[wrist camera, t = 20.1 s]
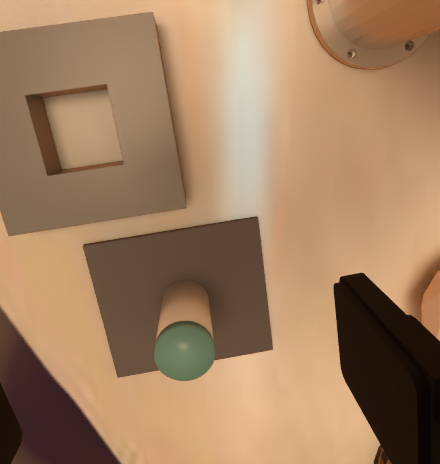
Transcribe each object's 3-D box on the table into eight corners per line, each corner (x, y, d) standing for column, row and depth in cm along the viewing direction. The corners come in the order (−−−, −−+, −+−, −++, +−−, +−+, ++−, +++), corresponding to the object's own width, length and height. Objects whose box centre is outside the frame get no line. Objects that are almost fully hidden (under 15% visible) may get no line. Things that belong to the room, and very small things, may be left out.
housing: (156, 24, 33) (152, 11, 30) (185, 199, 38) (186, 208, 34) (-28, 48, 33) (-56, 39, 29) (26, 224, 37) (8, 236, 34)
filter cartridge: (206, 276, 40) (211, 324, 31) (211, 318, 42) (217, 376, 32) (159, 282, 40) (149, 332, 30) (165, 324, 41) (158, 384, 32)
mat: (256, 216, 39) (257, 217, 39) (271, 346, 44) (272, 349, 44) (84, 244, 38) (82, 246, 38) (118, 374, 43) (117, 377, 43)
